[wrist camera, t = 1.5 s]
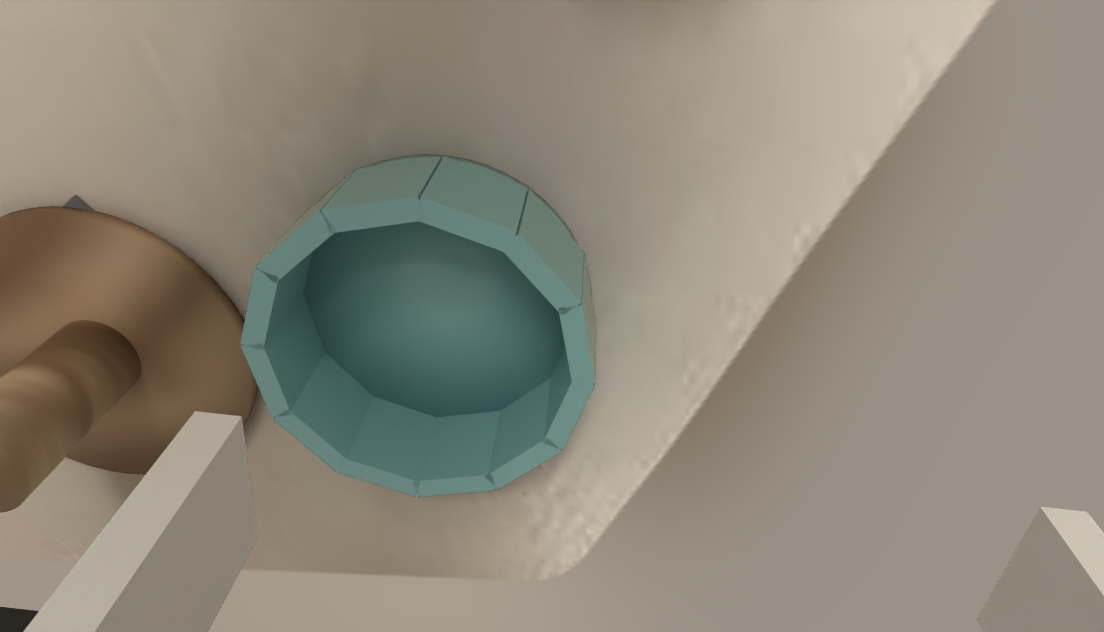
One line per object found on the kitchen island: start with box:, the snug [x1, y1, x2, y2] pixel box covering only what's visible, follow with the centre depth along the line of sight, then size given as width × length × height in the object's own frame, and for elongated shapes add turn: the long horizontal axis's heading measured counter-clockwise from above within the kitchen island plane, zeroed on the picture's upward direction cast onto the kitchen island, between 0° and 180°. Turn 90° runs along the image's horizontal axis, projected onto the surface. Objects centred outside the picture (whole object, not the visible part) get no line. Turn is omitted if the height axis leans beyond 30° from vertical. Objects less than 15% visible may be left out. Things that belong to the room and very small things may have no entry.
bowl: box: [240, 155, 596, 497], centre depth 35 cm, size 15×15×6 cm
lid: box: [0, 206, 257, 513], centre depth 36 cm, size 16×16×10 cm
